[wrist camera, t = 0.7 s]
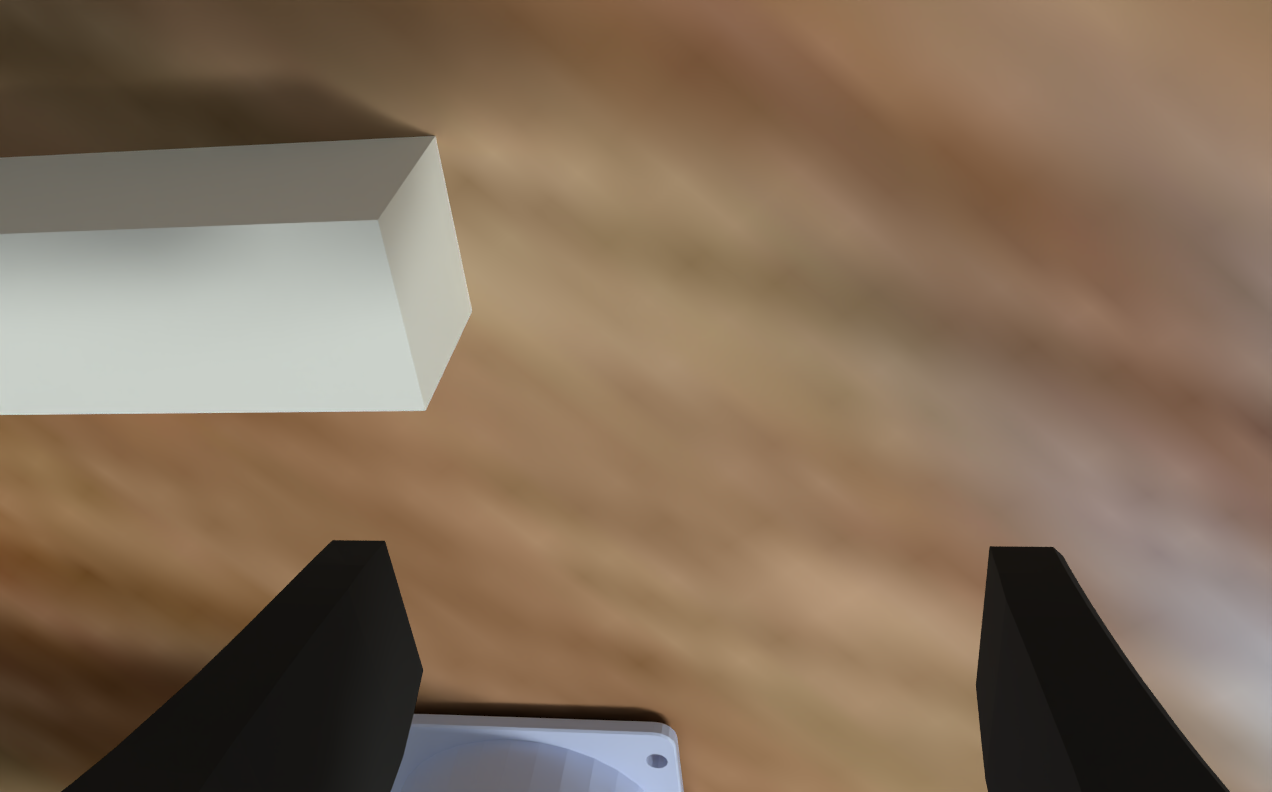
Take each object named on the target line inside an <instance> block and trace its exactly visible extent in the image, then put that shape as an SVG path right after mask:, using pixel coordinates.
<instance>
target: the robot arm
mask: <svg viewBox="0 0 1272 792" xmlns="http://www.w3.org/2000/svg"><path fill="white" fill-rule="evenodd" d="M422 673H423V668H422V664H421V661H420V658H419V654H418V651H417V648H416V644H415V641H414V637H413V634H412V631H411V627H410V624H409V621H408V617H407V614H406V610H405V607H404V604H403V600H402V597H401V593H400V590H399V587H398V583H397V580H396V577H395V573H394V570H393V566H392V563H391V560H390V556H389V553H388V550H387V546H386V543H385V541H344V540H332V541H331V542H330V543H329V544H328V545H327V546H326V547H325V548H324V549H323V550H322V551H321V552H320V553H319V554H318V555H317V556H316V557H315V558H314V559H313V560H312V561H311V562H310V563H309V564H308V565H307V566H306V567H305V568H304V569H303V570H302V571H301V572H300V573H299V574H298V575H297V576H296V577H295V578H294V579H293V580H292V581H291V582H290V583H289V584H288V585H287V586H286V587H285V588H284V589H283V590H282V591H281V592H280V593H279V594H278V595H277V596H276V597H275V598H274V599H273V600H272V601H271V602H270V603H269V604H268V605H267V606H266V607H265V608H264V609H263V610H262V611H261V612H260V613H259V614H258V615H257V616H256V617H255V618H254V619H253V620H252V621H251V622H250V623H249V624H248V625H247V626H246V627H245V628H244V629H243V630H242V631H241V632H240V633H239V634H238V635H237V636H236V637H235V638H234V639H233V640H232V641H231V642H230V643H229V644H228V645H227V646H226V647H225V648H224V649H223V650H221V651H220V652H219V653H218V654H217V655H216V656H215V657H214V658H213V659H212V660H211V661H210V662H209V663H208V664H207V665H206V666H205V667H204V668H203V669H202V670H201V671H200V672H199V673H198V674H197V675H196V676H195V677H194V678H193V679H192V680H190V681H189V682H188V683H187V684H186V685H185V686H184V687H183V688H182V689H180V690H179V691H178V692H177V693H176V694H175V695H174V696H173V697H171V698H170V699H169V700H168V701H167V702H166V703H165V704H164V705H163V706H161V707H160V708H159V709H158V710H157V711H156V712H155V713H154V714H152V715H151V716H150V717H149V718H148V719H147V720H146V721H145V722H144V723H142V724H141V725H140V726H139V727H138V728H137V729H136V730H135V731H134V732H132V733H131V734H130V735H129V736H128V737H127V738H126V739H125V740H123V741H122V742H121V743H120V744H119V745H118V746H117V747H116V748H114V749H113V750H112V751H111V752H110V753H108V754H107V755H106V756H105V757H104V758H102V759H101V760H100V761H99V762H98V763H96V764H95V765H94V766H93V767H92V768H90V769H89V770H88V771H87V772H85V773H84V774H83V775H82V776H80V777H79V778H78V779H77V780H75V781H74V782H73V783H72V784H70V785H69V786H68V787H67V788H65V789H64V790H63V791H61V792H684V789H683V781H682V773H681V765H680V756H679V748H678V740H677V735H676V733H675V731H674V730H673V729H672V728H671V727H670V726H668V725H666V724H663V723H659V722H645V721H615V720H586V719H557V718H527V717H498V716H469V715H439V714H414V710H415V705H416V701H417V696H418V691H419V687H420V682H421V677H422ZM976 691H977V701H978V711H979V722H980V732H981V742H982V751H983V760H984V769H985V779H986V784H987V789H988V792H1230V791H1229V790H1228V789H1227V788H1226V786H1225V785H1224V784H1223V783H1222V781H1221V780H1220V779H1219V778H1218V777H1217V775H1216V774H1215V773H1214V772H1213V771H1212V769H1211V768H1210V767H1209V766H1208V765H1207V763H1206V762H1205V761H1204V760H1203V759H1202V757H1201V756H1200V755H1199V754H1198V752H1197V751H1196V750H1195V748H1194V747H1193V746H1192V745H1191V743H1190V742H1189V741H1188V740H1187V738H1186V737H1185V736H1184V735H1183V733H1182V732H1181V731H1180V729H1179V728H1178V727H1177V725H1176V724H1175V723H1174V721H1173V720H1172V719H1171V717H1170V716H1169V715H1168V713H1167V712H1166V711H1165V709H1164V708H1163V707H1162V705H1161V704H1160V703H1159V701H1158V700H1157V699H1156V697H1155V696H1154V694H1153V693H1152V692H1151V690H1150V689H1149V688H1148V686H1147V685H1146V684H1145V682H1144V681H1143V680H1142V678H1141V677H1140V676H1139V674H1138V673H1137V671H1136V670H1135V668H1134V667H1133V666H1132V664H1131V663H1130V661H1129V660H1128V658H1127V657H1126V656H1125V654H1124V653H1123V651H1122V650H1121V648H1120V647H1119V645H1118V644H1117V642H1116V641H1115V639H1114V638H1113V636H1112V635H1111V633H1110V632H1109V630H1108V629H1107V627H1106V626H1105V624H1104V623H1103V621H1102V620H1101V618H1100V617H1099V615H1098V614H1097V612H1096V610H1095V609H1094V607H1093V606H1092V604H1091V603H1090V601H1089V599H1088V598H1087V596H1086V594H1085V593H1084V591H1083V590H1082V588H1081V586H1080V585H1079V583H1078V581H1077V580H1076V578H1075V576H1074V575H1073V573H1072V571H1071V569H1070V568H1069V566H1068V564H1067V562H1066V560H1065V559H1064V557H1063V556H1062V555H1061V554H1060V553H1059V552H1058V551H1057V550H1056V549H1055V548H1054V547H992V546H990V548H989V558H988V569H987V579H986V589H985V599H984V609H983V619H982V629H981V639H980V649H979V659H978V670H977V680H976Z"/></svg>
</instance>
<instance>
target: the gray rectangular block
mask: <svg viewBox="0 0 1272 792" xmlns="http://www.w3.org/2000/svg"><path fill="white" fill-rule="evenodd" d="M471 313H472V308H471V303H470V298H469V294H468V289H467V284H466V279H465V275H464V270H463V265H462V260H461V256H460V251H459V246H458V241H457V236H456V232H455V227H454V222H453V217H452V213H451V208H450V203H449V198H448V194H447V189H446V184H445V179H444V174H443V170H442V165H441V160H440V155H439V151H438V146H437V141H436V136H422V137H402V138H382V139H362V140H342V141H322V142H302V143H282V144H262V145H242V146H222V147H202V148H182V149H162V150H142V151H122V152H103V153H83V154H63V155H43V156H23V157H3V158H0V415H38V414H140V413H243V412H345V411H426V409H427V406H428V404H429V402H430V400H431V398H432V396H433V394H434V392H435V389H436V387H437V385H438V383H439V381H440V379H441V377H442V375H443V372H444V370H445V368H446V366H447V364H448V362H449V360H450V357H451V355H452V353H453V351H454V349H455V347H456V345H457V343H458V340H459V338H460V336H461V334H462V332H463V330H464V328H465V326H466V323H467V321H468V319H469V317H470V315H471Z"/></svg>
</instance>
